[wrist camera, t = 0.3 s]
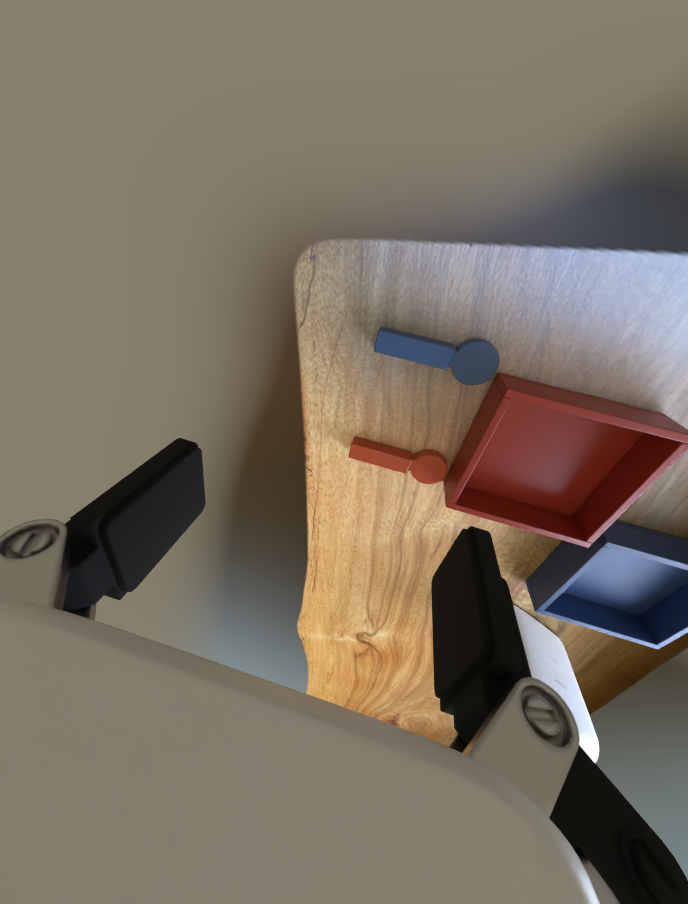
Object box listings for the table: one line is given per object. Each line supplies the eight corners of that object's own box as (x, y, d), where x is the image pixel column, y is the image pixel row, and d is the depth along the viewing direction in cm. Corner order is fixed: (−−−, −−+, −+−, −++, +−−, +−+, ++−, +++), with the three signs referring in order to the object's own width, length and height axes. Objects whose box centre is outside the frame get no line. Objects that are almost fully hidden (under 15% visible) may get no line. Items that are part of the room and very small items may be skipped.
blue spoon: (373, 357, 25) (370, 362, 24) (383, 314, 23) (381, 318, 22) (484, 385, 24) (488, 392, 23) (504, 344, 22) (508, 349, 21)
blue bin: (588, 512, 28) (607, 541, 25) (729, 551, 27) (766, 586, 24) (525, 581, 34) (534, 611, 31) (638, 615, 33) (658, 649, 31)
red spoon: (349, 456, 30) (346, 464, 29) (356, 428, 28) (353, 436, 27) (439, 481, 30) (439, 490, 28) (451, 455, 28) (453, 463, 27)
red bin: (497, 372, 23) (507, 388, 20) (664, 413, 22) (699, 437, 20) (443, 482, 30) (445, 507, 27) (572, 518, 29) (588, 548, 26)
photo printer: (567, 639, 38) (619, 780, 28) (535, 648, 40) (572, 781, 30) (511, 597, 36) (545, 731, 26) (480, 608, 38) (501, 736, 28)
